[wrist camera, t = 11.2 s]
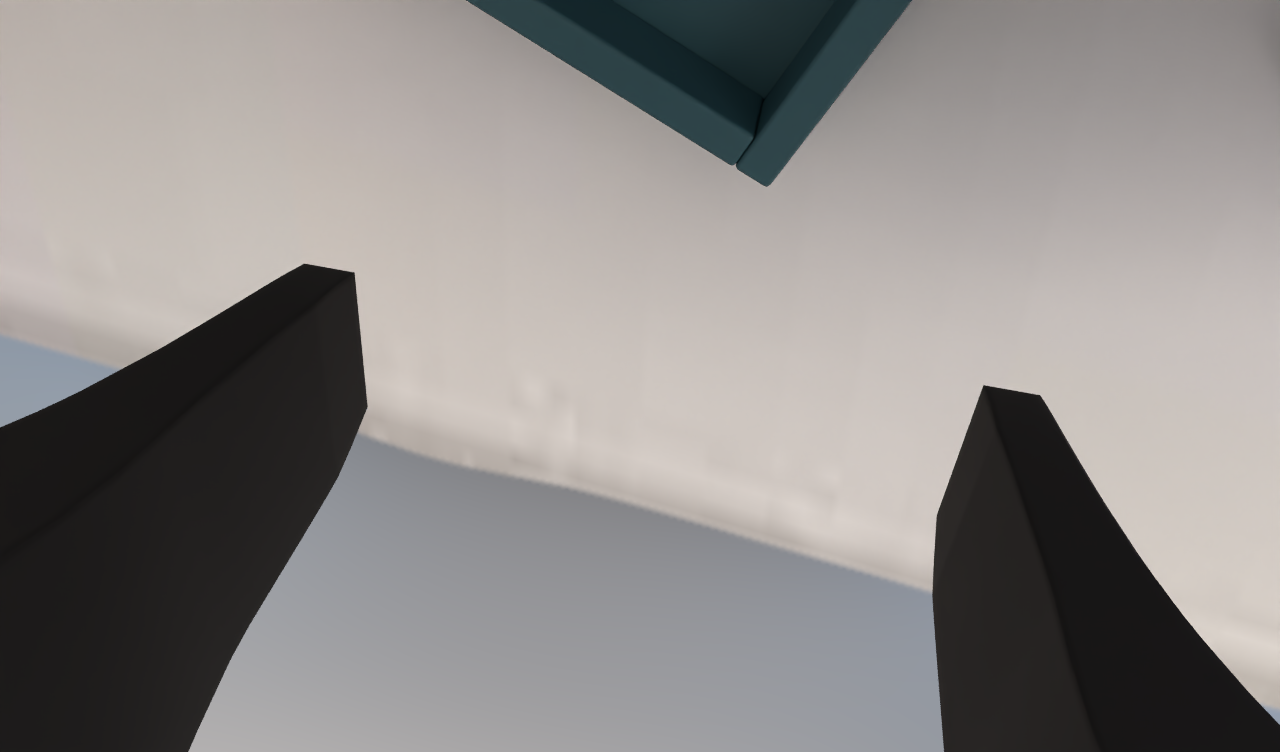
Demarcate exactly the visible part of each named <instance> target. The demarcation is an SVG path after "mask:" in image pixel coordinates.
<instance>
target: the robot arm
mask: <svg viewBox="0 0 1280 752" xmlns="http://www.w3.org/2000/svg"><path fill="white" fill-rule="evenodd" d="M366 409H367V397H366V386H365V376H364V366H363V356H362V345H361V335H360V325H359V314H358V304H357V294H356V284H355V273H354V272H348V271H342V270H337V269H331V268H326V267H320V266H315V265H309V264H303V265H301V266H299V267H297V268H296V269H294V270H292V271H290V272H288V273H286V274H285V275H283V276H281V277H279V278H278V279H276V280H274V281H273V282H271V283H269V284H268V285H266V286H264V287H263V288H261V289H259V290H258V291H256V292H254V293H253V294H251V295H249V296H248V297H246V298H245V299H243V300H241V301H240V302H238V303H236V304H235V305H233V306H231V307H230V308H228V309H226V310H225V311H223V312H221V313H220V314H218V315H216V316H215V317H213V318H211V319H210V320H208V321H206V322H205V323H203V324H201V325H200V326H198V327H196V328H194V329H193V330H191V331H189V332H188V333H186V334H184V335H183V336H181V337H179V338H178V339H176V340H174V341H172V342H171V343H169V344H167V345H166V346H164V347H162V348H160V349H159V350H157V351H155V352H153V353H151V354H149V355H147V356H146V357H144V358H142V359H140V360H138V361H136V362H134V363H132V364H131V365H129V366H127V367H125V368H123V369H121V370H119V371H117V372H116V373H114V374H112V375H110V376H108V377H106V378H104V379H103V380H101V381H99V382H97V383H95V384H93V385H91V386H89V387H88V388H86V389H84V390H82V391H80V392H78V393H76V394H74V395H72V396H69V397H67V398H66V399H63V400H61V401H59V402H57V403H55V404H53V405H51V406H48V407H46V408H45V409H42V410H40V411H38V412H35V413H33V414H31V415H29V416H26V417H24V418H22V419H19V420H17V421H15V422H12V423H10V424H8V425H5V426H3V427H0V752H188V751H189V749H190V746H191V744H192V742H193V740H194V737H195V735H196V733H197V730H198V728H199V726H200V724H201V722H202V720H203V718H204V715H205V713H206V711H207V709H208V707H209V705H210V702H211V700H212V698H213V696H214V694H215V692H216V689H217V687H218V685H219V683H220V681H221V679H222V677H223V674H224V672H225V670H226V668H227V666H228V664H229V661H230V660H231V658H232V656H233V654H234V652H235V650H236V648H237V646H238V645H239V643H240V641H241V639H242V637H243V635H244V634H245V632H246V630H247V628H248V627H249V625H250V623H251V622H252V620H253V618H254V617H255V615H256V613H257V612H258V610H259V608H260V607H261V605H262V603H263V601H264V600H265V598H266V597H267V595H268V593H269V592H270V590H271V588H272V587H273V585H274V584H275V582H276V580H277V578H278V577H279V575H280V573H281V572H282V570H283V569H284V567H285V565H286V564H287V562H288V560H289V558H290V557H291V555H292V554H293V552H294V550H295V549H296V547H297V546H298V544H299V542H300V541H301V539H302V537H303V536H304V534H305V532H306V531H307V529H308V527H309V526H310V524H311V522H312V521H313V519H314V517H315V515H316V514H317V512H318V510H319V509H320V507H321V505H322V504H323V502H324V500H325V499H326V497H327V495H328V494H329V492H330V490H331V488H332V487H333V485H334V483H335V481H336V480H337V478H338V476H339V473H340V471H341V469H342V467H343V464H344V462H345V460H346V457H347V455H348V453H349V451H350V449H351V446H352V444H353V441H354V439H355V436H356V434H357V431H358V429H359V427H360V424H361V422H362V419H363V417H364V414H365V412H366ZM932 596H933V612H934V626H935V640H936V653H937V665H938V666H937V667H938V679H939V692H940V703H941V704H940V705H941V716H942V730H943V743H944V752H1280V725H1279V724H1278V723H1277V722H1276V721H1275V720H1274V719H1273V718H1272V716H1271V715H1270V714H1269V713H1268V712H1267V711H1266V710H1265V709H1264V708H1263V707H1262V706H1261V705H1260V704H1259V703H1258V702H1257V701H1256V700H1255V698H1254V697H1253V696H1252V695H1251V694H1250V693H1249V692H1248V691H1247V690H1246V689H1245V688H1244V686H1243V685H1242V684H1241V683H1240V682H1239V681H1238V680H1237V678H1236V677H1235V676H1234V675H1233V674H1232V673H1231V672H1230V670H1229V669H1228V668H1227V667H1226V666H1225V665H1224V664H1223V662H1222V661H1221V660H1220V659H1219V658H1218V657H1217V656H1216V654H1215V653H1214V652H1213V651H1212V650H1211V649H1210V647H1209V646H1208V645H1207V644H1206V643H1205V642H1204V641H1203V639H1202V638H1201V637H1200V636H1199V634H1198V633H1197V632H1196V631H1195V630H1194V628H1193V627H1192V626H1191V625H1190V623H1189V622H1188V621H1187V620H1186V618H1185V617H1184V616H1183V615H1182V613H1181V612H1180V611H1179V609H1178V608H1177V607H1176V605H1175V604H1174V603H1173V601H1172V600H1171V599H1170V597H1169V596H1168V595H1167V593H1166V592H1165V591H1164V589H1163V588H1162V587H1161V585H1160V584H1159V583H1158V581H1157V580H1156V579H1155V577H1154V576H1153V575H1152V573H1151V572H1150V570H1149V569H1148V567H1147V566H1146V565H1145V563H1144V562H1143V560H1142V559H1141V557H1140V556H1139V554H1138V553H1137V552H1136V550H1135V549H1134V547H1133V546H1132V544H1131V542H1130V541H1129V539H1128V538H1127V536H1126V535H1125V533H1124V532H1123V530H1122V529H1121V527H1120V526H1119V524H1118V523H1117V521H1116V520H1115V518H1114V517H1113V515H1112V514H1111V512H1110V510H1109V509H1108V507H1107V506H1106V504H1105V503H1104V501H1103V499H1102V498H1101V496H1100V495H1099V493H1098V491H1097V490H1096V488H1095V487H1094V485H1093V483H1092V482H1091V480H1090V478H1089V477H1088V475H1087V473H1086V472H1085V470H1084V468H1083V467H1082V465H1081V463H1080V462H1079V460H1078V458H1077V456H1076V455H1075V453H1074V451H1073V450H1072V448H1071V446H1070V444H1069V443H1068V441H1067V439H1066V438H1065V436H1064V434H1063V432H1062V431H1061V429H1060V427H1059V425H1058V424H1057V422H1056V420H1055V419H1054V417H1053V415H1052V413H1051V412H1050V410H1049V408H1048V407H1047V405H1046V404H1045V402H1044V400H1043V399H1042V397H1041V396H1040V395H1035V394H1029V393H1024V392H1018V391H1013V390H1007V389H1002V388H996V387H990V386H985V385H984V386H983V388H982V391H981V394H980V397H979V400H978V402H977V405H976V408H975V411H974V413H973V416H972V419H971V422H970V425H969V427H968V430H967V433H966V436H965V439H964V441H963V444H962V447H961V450H960V452H959V455H958V458H957V461H956V464H955V466H954V469H953V472H952V475H951V477H950V480H949V483H948V486H947V489H946V491H945V494H944V497H943V500H942V502H941V505H940V508H939V511H938V514H937V521H936V537H935V553H934V572H933V594H932Z"/></svg>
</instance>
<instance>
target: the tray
mask: <svg viewBox="0 0 1280 752" xmlns="http://www.w3.org/2000/svg"><path fill="white" fill-rule="evenodd" d="M466 1H468V2H470V3H471V4H473V5H474V6H476V7H478V8H479V9H481V10H482V11H484V12H486V13H487V14H489V15H491V16H492V17H494V18H495V19H497V20H499V21H500V22H502V23H503V24H505V25H507V26H508V27H510V28H511V29H513V30H515V31H516V32H518V33H519V34H521V35H523V36H524V37H526V38H527V39H529V40H531V41H532V42H534V43H535V44H537V45H539V46H540V47H542V48H543V49H545V50H547V51H548V52H550V53H551V54H553V55H555V56H556V57H558V58H560V59H561V60H563V61H564V62H566V63H568V64H569V65H571V66H572V67H574V68H576V69H577V70H579V71H580V72H582V73H584V74H585V75H587V76H588V77H590V78H592V79H593V80H595V81H596V82H598V83H600V84H601V85H603V86H604V87H606V88H608V89H609V90H611V91H612V92H614V93H616V94H617V95H619V96H620V97H622V98H624V99H625V100H627V101H629V102H630V103H632V104H633V105H635V106H637V107H638V108H640V109H641V110H643V111H645V112H646V113H648V114H649V115H651V116H653V117H654V118H656V119H657V120H659V121H661V122H662V123H664V124H665V125H667V126H669V127H670V128H672V129H673V130H675V131H677V132H678V133H680V134H681V135H683V136H685V137H686V138H688V139H689V140H691V141H693V142H694V143H696V144H698V145H699V146H701V147H702V148H704V149H706V150H707V151H709V152H710V153H712V154H714V155H715V156H717V157H718V158H720V159H722V160H723V161H725V162H726V163H728V164H730V165H734V164H735V163H736V168H737V169H738V170H739V171H741V172H743V173H744V174H746V175H747V176H749V177H751V178H752V179H754V180H755V181H757V182H759V183H760V184H762V185H763V186H766V187H767V186H769V185H770V184H771V183H772V182H773V181H774V179H775V178H776V177H777V176H778V174H779V173H780V172H781V170H782V169H783V168H784V166H785V165H786V164H787V163H788V161H789V160H790V159H791V157H792V156H793V155H794V153H795V152H796V151H797V150H798V148H799V147H800V146H801V144H802V143H803V142H804V140H805V139H806V138H807V136H808V135H809V134H810V133H811V131H812V130H813V129H814V127H815V126H816V125H817V123H818V122H819V121H820V120H821V118H822V117H823V116H824V114H825V113H826V112H827V110H828V109H829V108H830V107H831V105H832V104H833V103H834V101H835V100H836V99H837V97H838V96H839V95H840V94H841V92H842V91H843V90H844V88H845V87H846V86H847V84H848V83H849V82H850V81H851V79H852V78H853V77H854V75H855V74H856V73H857V71H858V70H859V69H860V68H861V66H862V65H863V64H864V62H865V61H866V60H867V58H868V57H869V56H870V55H871V53H872V52H873V51H874V49H875V48H876V47H877V45H878V44H879V43H880V42H881V40H882V39H883V38H884V36H885V35H886V34H887V32H888V31H889V30H890V29H891V27H892V26H893V25H894V23H895V22H896V21H897V19H898V18H899V17H900V16H901V14H902V13H903V12H904V10H905V9H906V8H907V6H908V5H909V4H910V2H911V1H912V0H466Z"/></svg>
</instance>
